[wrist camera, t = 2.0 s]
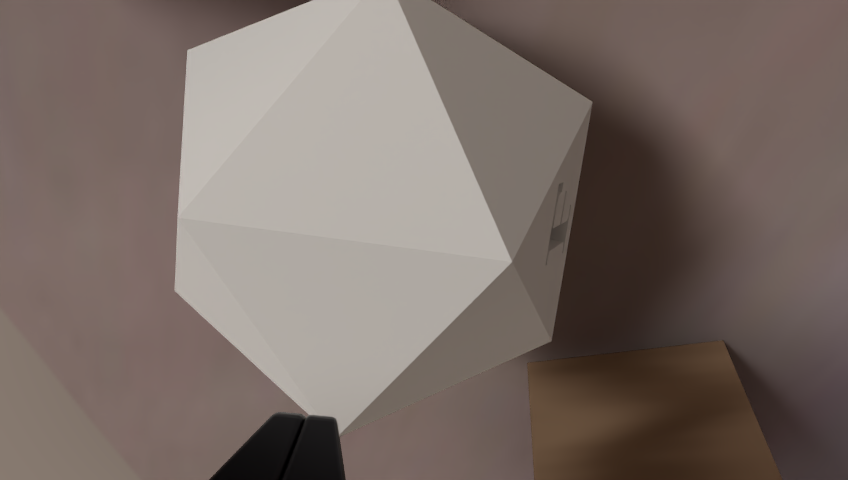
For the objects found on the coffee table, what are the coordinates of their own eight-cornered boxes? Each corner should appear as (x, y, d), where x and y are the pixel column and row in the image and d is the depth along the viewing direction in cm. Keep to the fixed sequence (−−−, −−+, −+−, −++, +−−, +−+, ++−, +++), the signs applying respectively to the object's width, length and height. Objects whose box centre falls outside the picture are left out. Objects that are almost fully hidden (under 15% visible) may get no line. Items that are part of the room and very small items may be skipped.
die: (419, 305, 22) (659, 464, 14) (116, 320, 18) (199, 568, 9) (455, 32, 21) (754, 24, 12) (129, -28, 16) (244, -107, 8)
